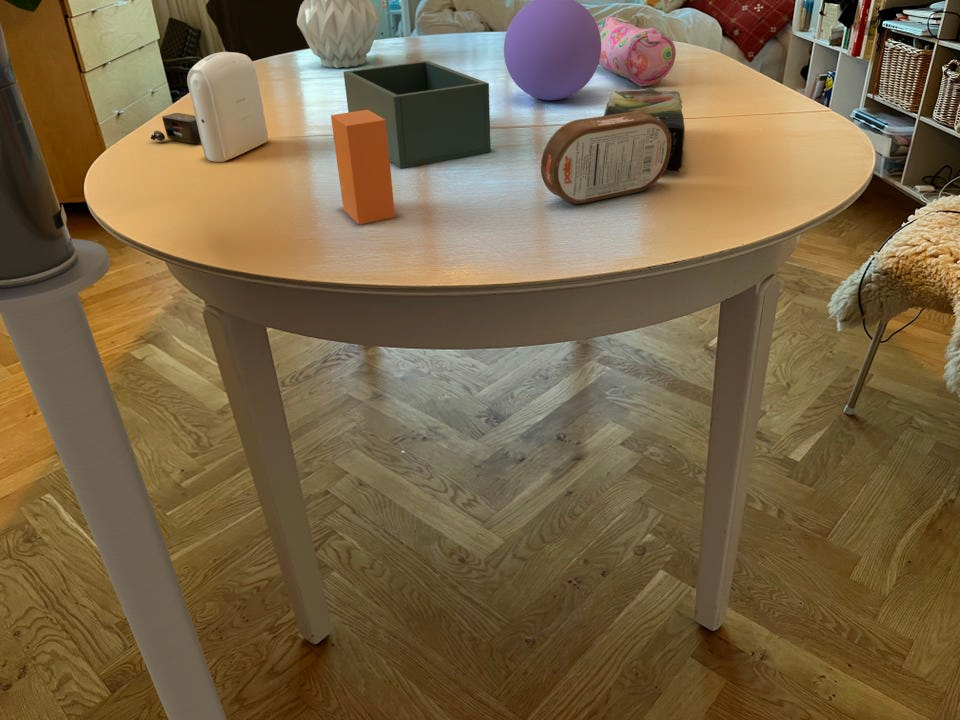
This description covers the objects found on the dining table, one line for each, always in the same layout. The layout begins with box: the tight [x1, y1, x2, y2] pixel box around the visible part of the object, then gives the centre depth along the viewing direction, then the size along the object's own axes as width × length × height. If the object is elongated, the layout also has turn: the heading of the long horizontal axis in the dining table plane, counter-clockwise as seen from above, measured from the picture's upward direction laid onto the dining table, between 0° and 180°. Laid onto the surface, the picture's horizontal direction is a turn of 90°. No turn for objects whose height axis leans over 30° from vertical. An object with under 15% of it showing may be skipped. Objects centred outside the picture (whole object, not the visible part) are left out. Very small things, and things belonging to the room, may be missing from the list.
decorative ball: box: [503, 0, 601, 101], centre depth 117 cm, size 15×15×15 cm
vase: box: [296, 0, 381, 69], centre depth 148 cm, size 16×16×18 cm
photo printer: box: [186, 51, 269, 163], centre depth 99 cm, size 10×4×12 cm, turn 158°
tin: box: [540, 111, 672, 205], centre depth 80 cm, size 15×3×8 cm, turn 115°
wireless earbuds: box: [150, 112, 202, 145], centre depth 106 cm, size 5×7×3 cm, turn 56°
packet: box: [330, 110, 396, 225], centre depth 77 cm, size 4×5×10 cm
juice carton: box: [603, 88, 686, 172], centre depth 94 cm, size 20×10×6 cm, turn 169°
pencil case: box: [597, 14, 677, 87], centre depth 132 cm, size 21×9×9 cm, turn 11°
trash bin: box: [343, 60, 492, 169], centre depth 100 cm, size 13×19×8 cm
